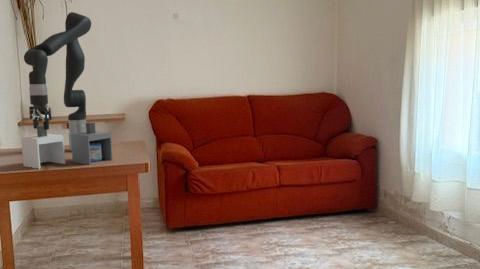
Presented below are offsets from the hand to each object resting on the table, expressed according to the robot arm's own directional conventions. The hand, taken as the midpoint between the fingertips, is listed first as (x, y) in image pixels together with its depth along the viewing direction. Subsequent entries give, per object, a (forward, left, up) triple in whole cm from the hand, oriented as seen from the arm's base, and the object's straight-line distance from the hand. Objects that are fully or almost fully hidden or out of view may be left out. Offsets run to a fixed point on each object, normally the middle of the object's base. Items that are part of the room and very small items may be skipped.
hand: (41, 129), depth 216 cm
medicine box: (+12, +18, -17) cm, 28 cm away
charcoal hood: (+12, +18, -17) cm, 28 cm away
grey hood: (0, 0, -17) cm, 17 cm away
